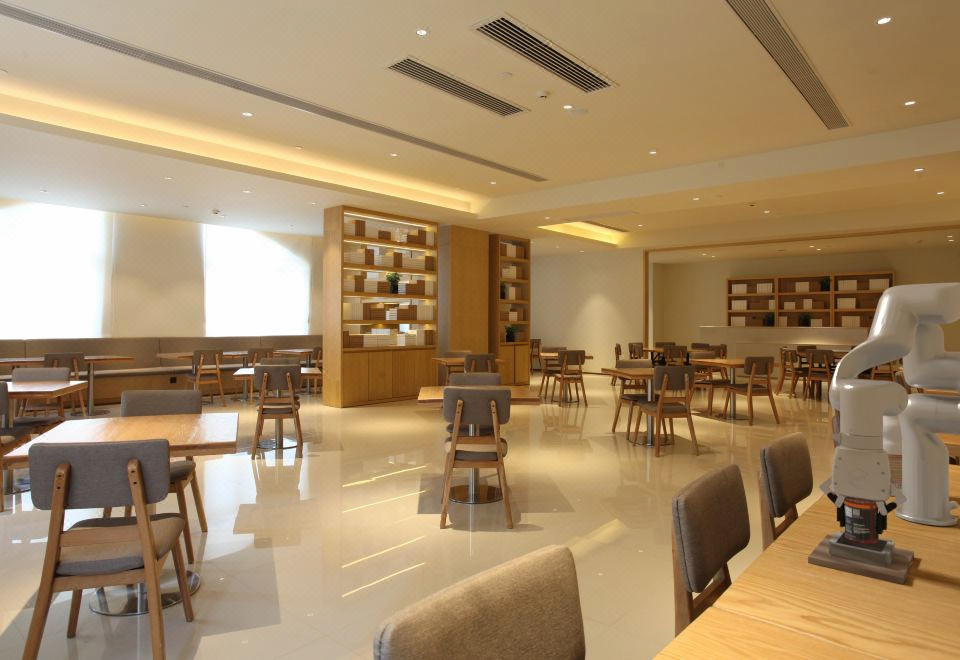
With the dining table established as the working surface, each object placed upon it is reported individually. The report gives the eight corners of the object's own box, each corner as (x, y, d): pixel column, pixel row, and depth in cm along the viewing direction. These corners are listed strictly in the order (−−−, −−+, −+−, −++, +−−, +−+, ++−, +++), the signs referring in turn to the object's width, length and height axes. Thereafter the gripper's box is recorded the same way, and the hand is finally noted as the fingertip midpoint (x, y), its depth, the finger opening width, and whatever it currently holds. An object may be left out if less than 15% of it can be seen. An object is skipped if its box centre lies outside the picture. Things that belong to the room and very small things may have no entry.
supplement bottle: (873, 537, 125) (873, 484, 125) (882, 547, 119) (882, 491, 119) (841, 534, 127) (841, 481, 127) (848, 543, 121) (848, 488, 121)
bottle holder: (827, 539, 135) (827, 523, 135) (914, 557, 124) (913, 539, 124) (808, 562, 121) (808, 544, 121) (903, 584, 111) (903, 564, 111)
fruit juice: (891, 498, 169) (890, 399, 169) (863, 489, 178) (862, 396, 178) (918, 496, 171) (917, 399, 171) (889, 487, 180) (888, 395, 180)
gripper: (810, 439, 126) (810, 524, 126) (910, 450, 115) (910, 543, 114) (818, 435, 132) (818, 516, 131) (914, 445, 120) (914, 534, 120)
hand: (861, 528), depth 123 cm, fingers closed on supplement bottle, 5 cm apart
